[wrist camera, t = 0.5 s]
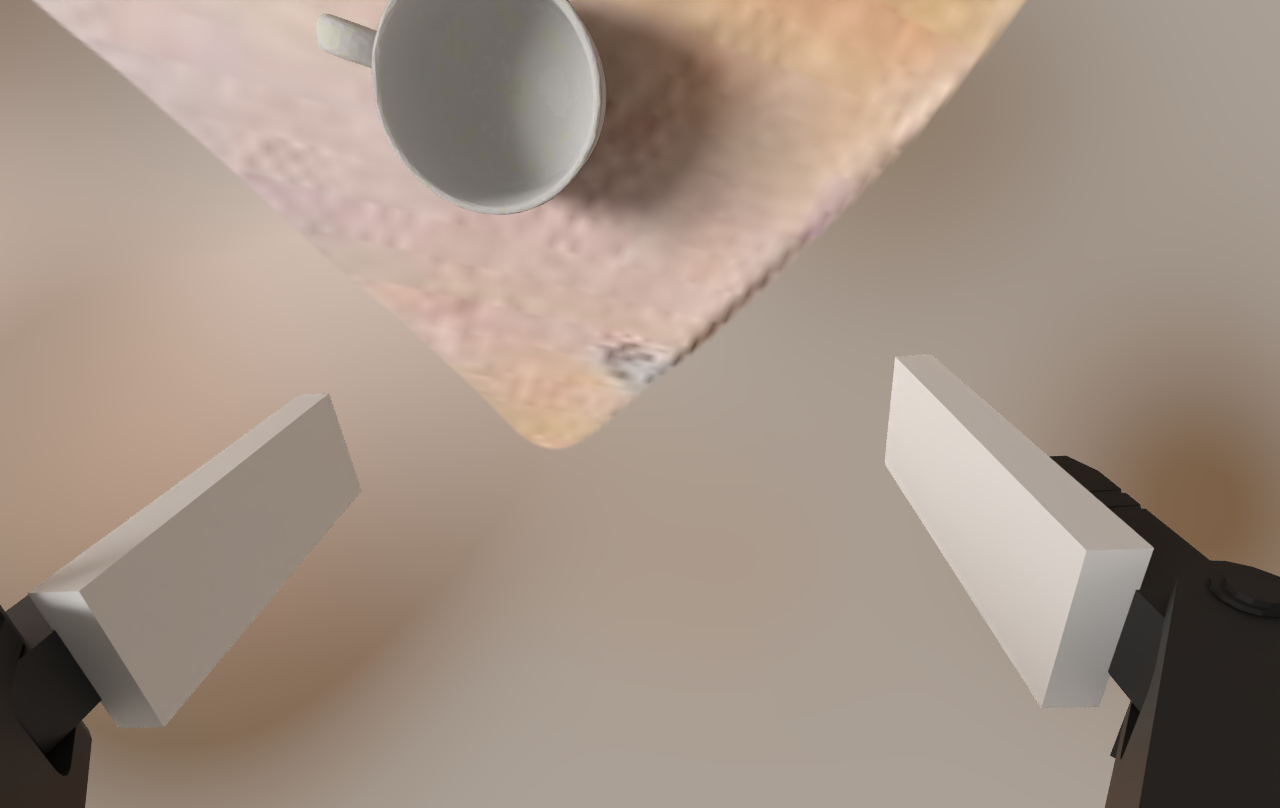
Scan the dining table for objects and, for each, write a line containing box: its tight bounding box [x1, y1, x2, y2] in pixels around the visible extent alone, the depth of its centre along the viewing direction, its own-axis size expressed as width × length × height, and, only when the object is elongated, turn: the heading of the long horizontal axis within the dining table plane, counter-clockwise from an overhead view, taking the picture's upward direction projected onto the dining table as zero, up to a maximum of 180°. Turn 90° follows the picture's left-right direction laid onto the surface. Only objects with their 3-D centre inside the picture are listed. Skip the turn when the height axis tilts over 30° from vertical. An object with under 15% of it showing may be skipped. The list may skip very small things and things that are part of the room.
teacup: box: [316, 0, 606, 215], centre depth 31 cm, size 14×11×8 cm
